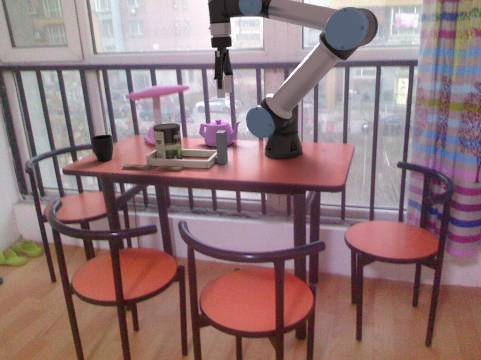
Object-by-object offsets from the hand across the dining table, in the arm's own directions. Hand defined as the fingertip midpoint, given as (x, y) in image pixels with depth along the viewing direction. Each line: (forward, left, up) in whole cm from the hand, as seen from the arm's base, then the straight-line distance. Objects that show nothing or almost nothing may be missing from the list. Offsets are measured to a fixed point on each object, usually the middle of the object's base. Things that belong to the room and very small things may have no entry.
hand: (225, 95), depth 160 cm
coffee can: (+22, +7, -25) cm, 34 cm away
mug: (+50, +8, -25) cm, 56 cm away
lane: (+13, +8, -24) cm, 29 cm away
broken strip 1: (+31, +18, -25) cm, 43 cm away
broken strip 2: (+17, +18, -25) cm, 35 cm away
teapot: (+9, -19, -25) cm, 33 cm away
